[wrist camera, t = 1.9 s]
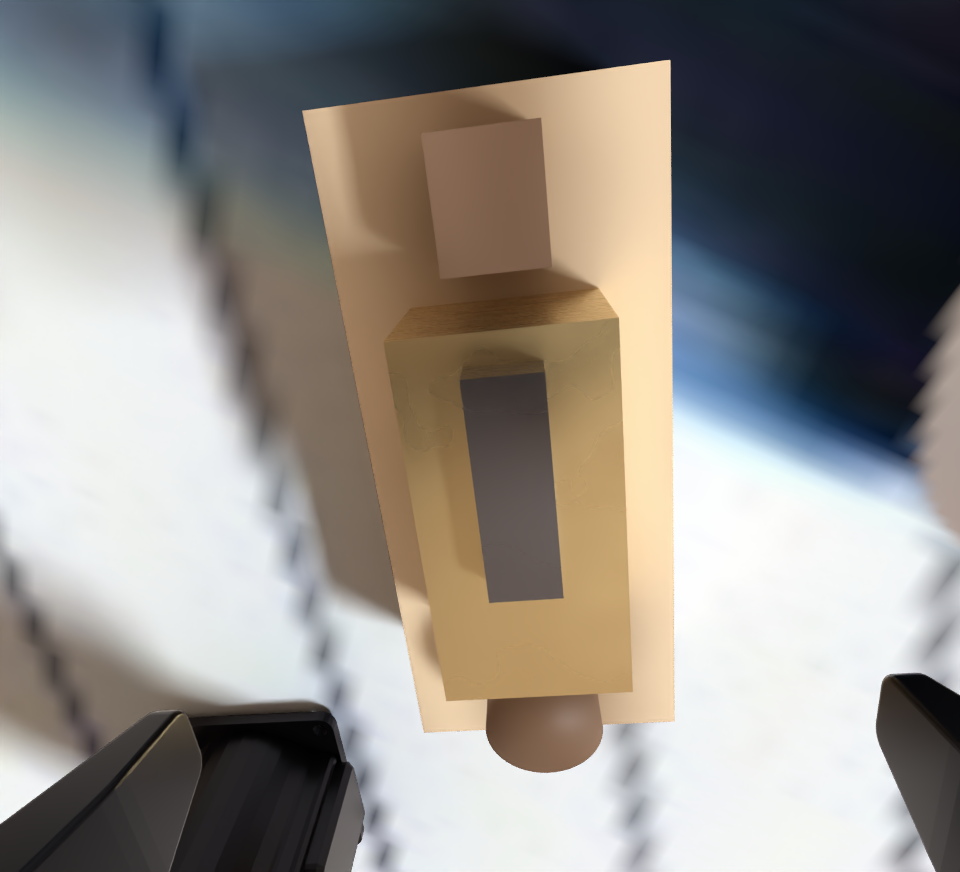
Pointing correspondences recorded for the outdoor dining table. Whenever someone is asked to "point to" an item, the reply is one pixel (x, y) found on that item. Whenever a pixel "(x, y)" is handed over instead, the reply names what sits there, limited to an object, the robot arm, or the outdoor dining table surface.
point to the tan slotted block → (518, 490)
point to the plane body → (510, 273)
